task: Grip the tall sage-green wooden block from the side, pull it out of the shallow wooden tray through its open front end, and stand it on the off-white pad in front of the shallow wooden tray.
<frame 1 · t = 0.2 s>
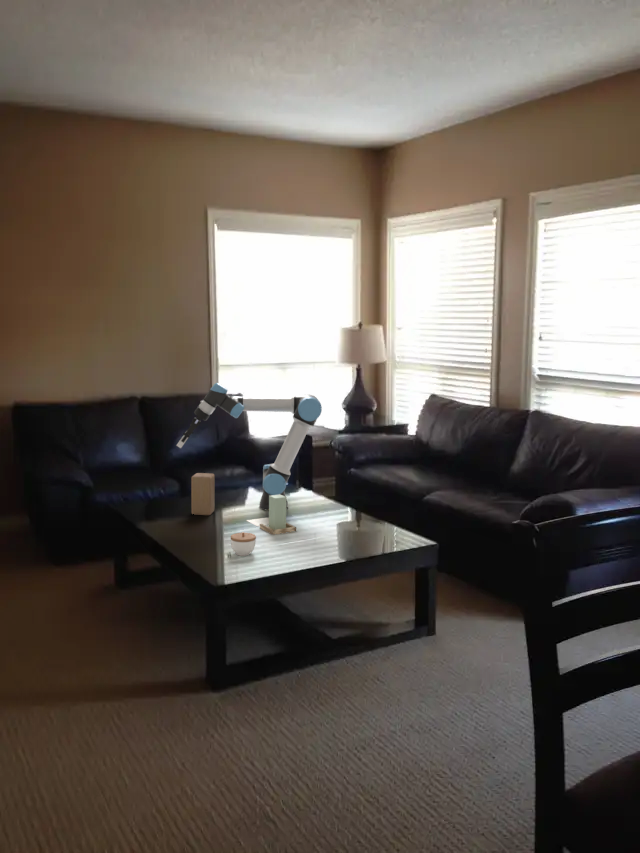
hand: (180, 444, 377), 36 cm above the table, tool tilted 35°, fingers open, 13 cm apart
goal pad: (262, 522, 367), on the table
shallow wooden tray: (277, 530, 355), on the table
block: (203, 513, 384), on the table
tall block: (277, 529, 355), point 1 cm above the table, touching shallow wooden tray
lidded jar: (243, 554, 319), on the table
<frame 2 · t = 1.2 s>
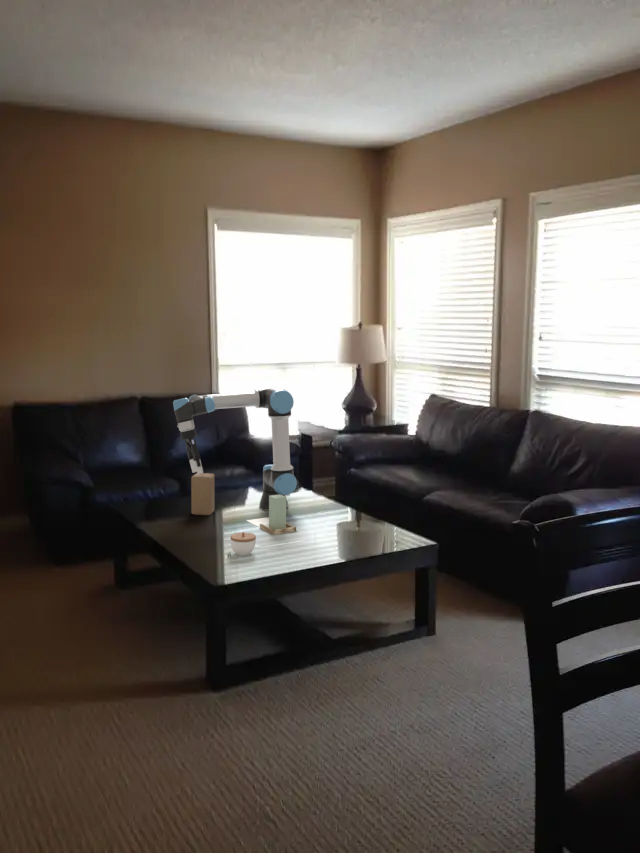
hand: (197, 472, 362), 25 cm above the table, tool pointing down, fingers open, 13 cm apart
nothing on the table moved.
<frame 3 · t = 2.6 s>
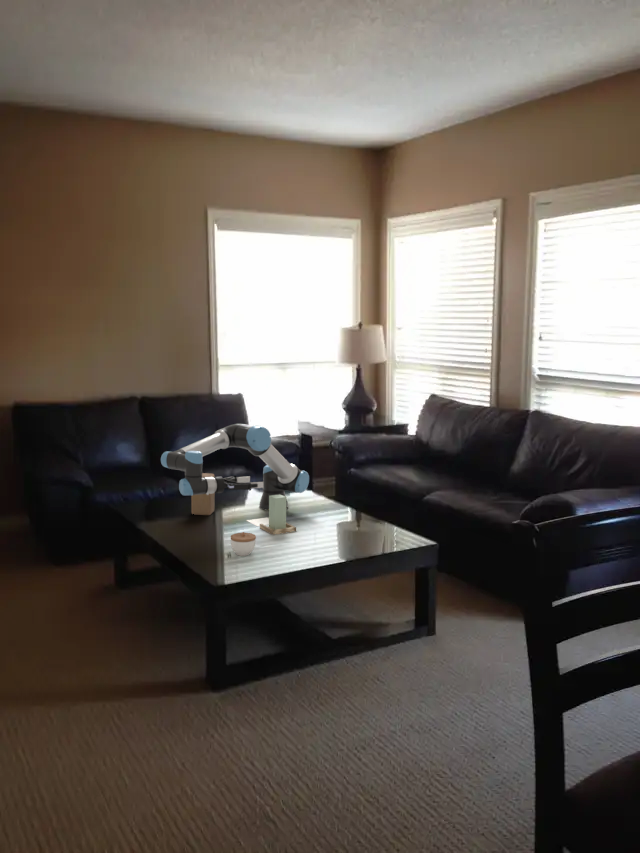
hand: (256, 481, 346), 25 cm above the table, tool horizontal, fingers open, 13 cm apart
nothing on the table moved.
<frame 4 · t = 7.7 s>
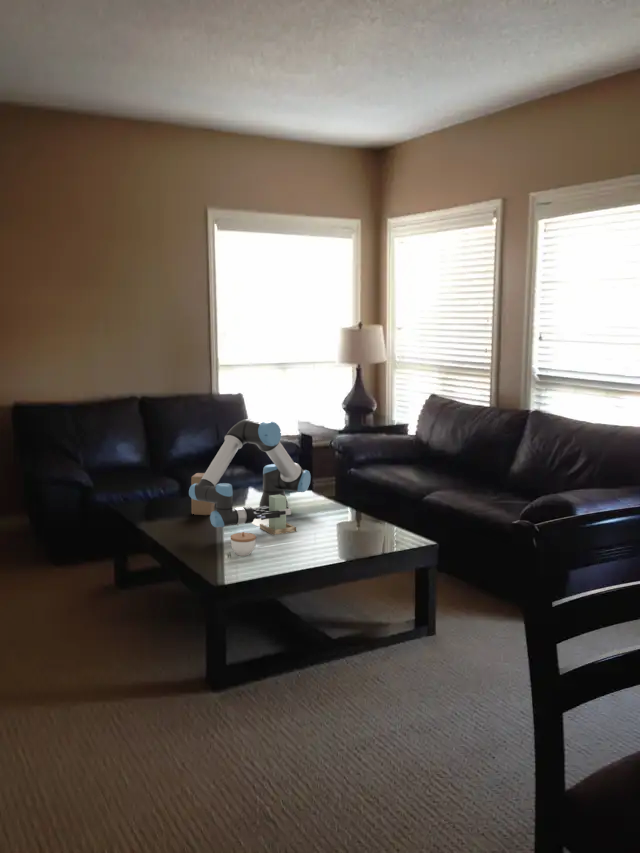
hand: (286, 509, 356), 10 cm above the table, tool horizontal, fingers closed on tall block, 6 cm apart
tall block: (277, 529, 355), point 1 cm above the table, touching gripper, shallow wooden tray
everything else where it was.
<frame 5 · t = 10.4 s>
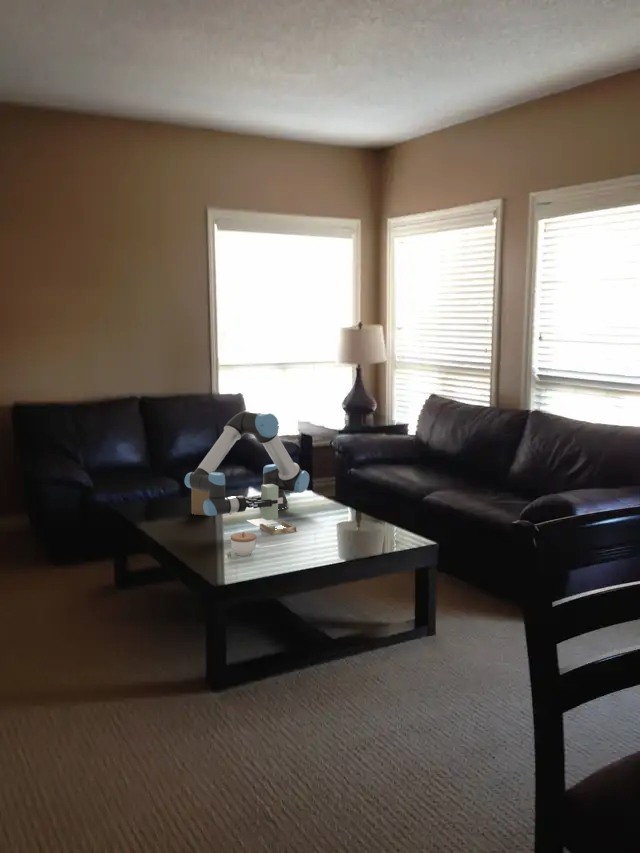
hand: (278, 498, 361), 13 cm above the table, tool horizontal, fingers closed on tall block, 6 cm apart
tall block: (269, 518, 360), point 4 cm above the table, touching gripper
everything else where it was.
when the fingers open (11 cm above the table, at t = 13.0 s): tall block drops 1 cm, resting on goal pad.
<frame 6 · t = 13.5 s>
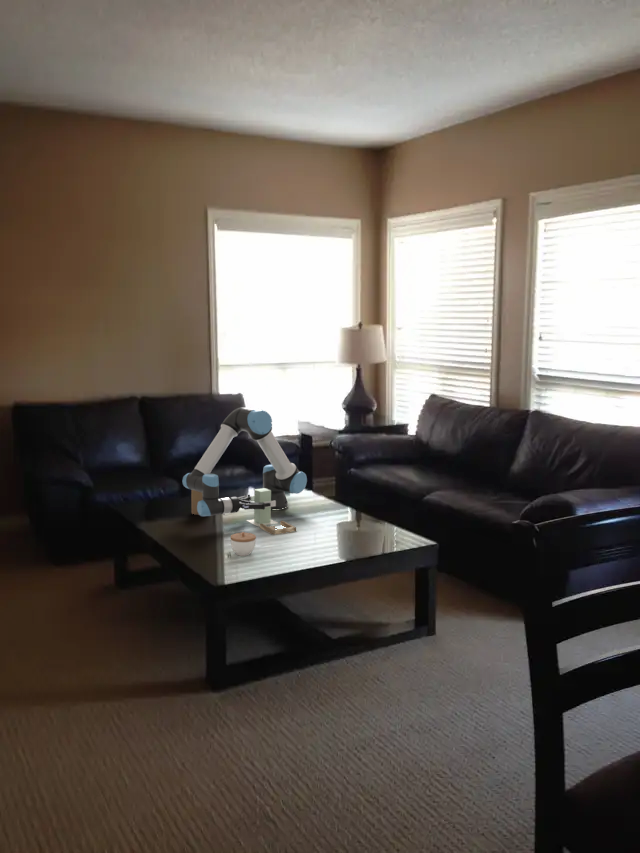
hand: (268, 500, 368), 11 cm above the table, tool horizontal, fingers open, 13 cm apart
tall block: (262, 521, 367), point 1 cm above the table, touching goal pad
everything else where it was.
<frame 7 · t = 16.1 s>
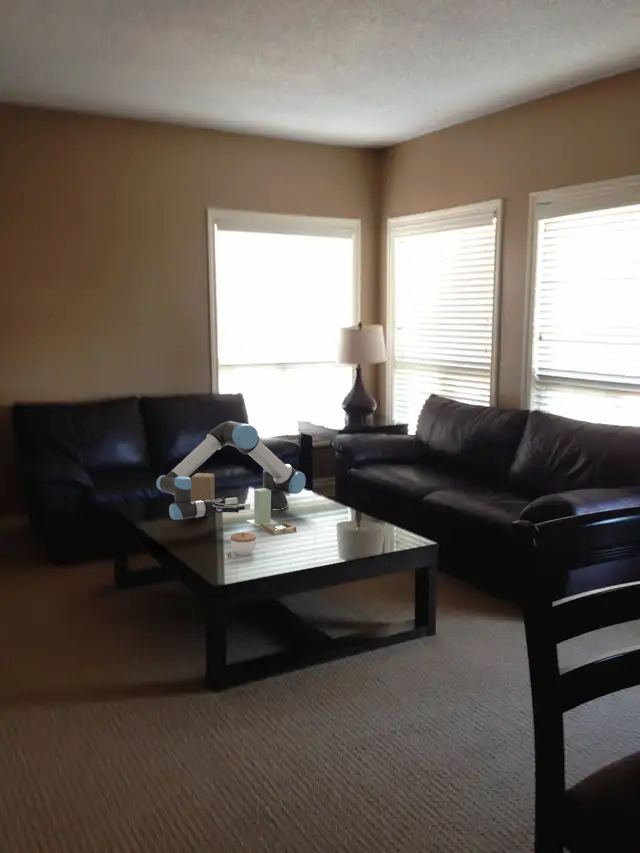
hand: (243, 503, 360), 11 cm above the table, tool horizontal, fingers open, 13 cm apart
nothing on the table moved.
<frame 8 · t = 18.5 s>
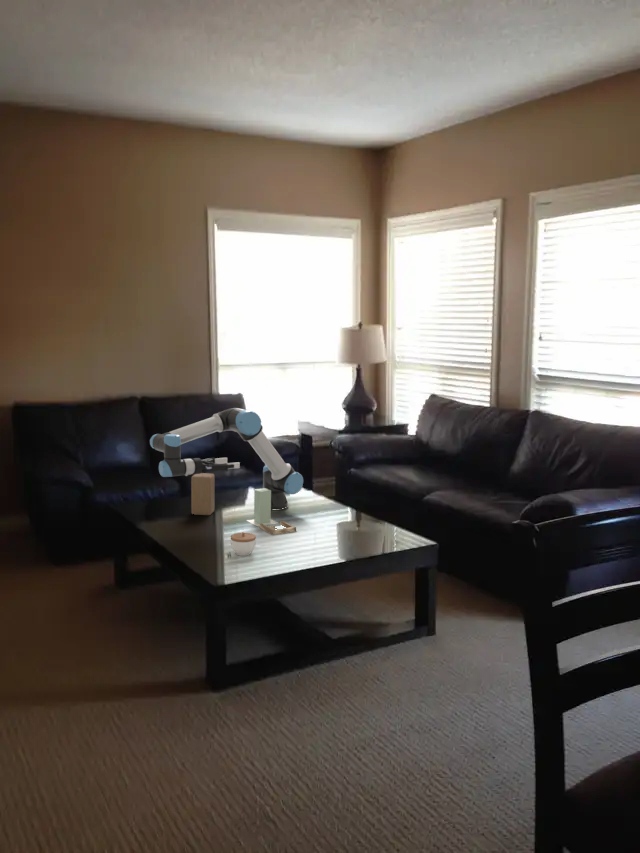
hand: (233, 462, 362), 30 cm above the table, tool horizontal, fingers open, 13 cm apart
nothing on the table moved.
at the end: tall block inside the target area on the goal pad (0.1 cm from its centre), point 0.6 cm above the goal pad's base; tall block tilted 0°; the gripper is holding nothing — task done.
